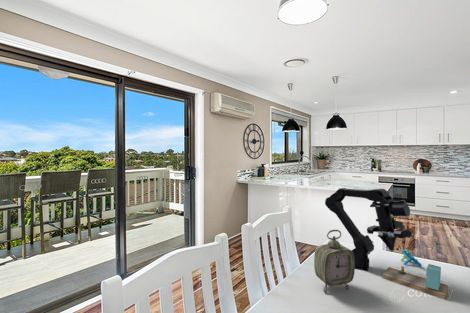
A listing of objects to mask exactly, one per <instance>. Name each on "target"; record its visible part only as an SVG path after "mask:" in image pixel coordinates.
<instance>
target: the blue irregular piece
mask: <svg viewBox="0 0 470 313" xmlns="http://www.w3.org/2000/svg"><path fill="white" fill-rule="evenodd" d="M401 251H402V253H403V254H402V255H403V256H402V258H401V259H400V261H401V262H403V261H404V260H405V259H406V261H404V263H403V265H404V266H406V265H407V264H409V263H410V262H413V263H414V264H416V265H417V266H418V267H422V266H423V265H422V263H421V262H419V260H418V259H417V258H415V257H414V256H413V254H410V252H408V251H407V250H405V249H401Z"/></svg>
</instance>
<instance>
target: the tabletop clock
mask: <svg viewBox="0 0 470 313" xmlns="http://www.w3.org/2000/svg"><path fill="white" fill-rule="evenodd" d="M333 232H338V233H339V236H337V237H336V236H335V235H333V236H332V237H329V234H330V233H333ZM341 237H342V232H341V230H339V229H332V230H329V231H328V232H327V234H326V238H327V239H328V242H327V243H326V244H321V245H317V246H316V247H315V249H314V257H313V262H314V265H313V266H314V273H315V276H316V277H317V278H318V279H319V280H321V281H322V282H323V283H324V285H325V286H324V287H325V288H323V293H325V294H327V293H328V289H327V288H328V286H329V287H332V286H333V287H335V286H337V287H338V286H342V285H345V289H346V290H350V285H349V283H351V282H352V281H353V279H354V277H355V269H356V268H355V256H354V253H353V251H351V250H352V249H349V248H348V247H346V246H344V245H342V244H341V243H340V242H339V241H338V239H340V238H341Z"/></svg>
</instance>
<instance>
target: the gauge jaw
mask: <svg viewBox="0 0 470 313" xmlns="http://www.w3.org/2000/svg"><path fill="white" fill-rule="evenodd" d="M441 272H442V267H441V266H438V265H434V264H431V263H428V264H427V267H426V274H425V276H426V277H425V278H426V287H429V288H432V289H435V290H439V288H440V283H441V274H442V273H441Z"/></svg>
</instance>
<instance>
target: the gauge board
mask: <svg viewBox="0 0 470 313" xmlns="http://www.w3.org/2000/svg"><path fill="white" fill-rule="evenodd" d="M382 279H383V280H386V281H390V282H392V283H395V284H398V285H401V286H404V287H406V288H409V289H413V290H415V291H418V292H422V293H424V294H426V295H430V296H432V297H436V298H439V299H441V298H442V299H443V300H444V299H445V300H446V299H447V295H448V292H449V284H445V283H442V282H440V288H439V290H435V289H432V288H429V287H426V277H422V276H420V275H417V274H414V273H410V272H407V271H405V267H404V266H403V265H401V267H400V269H397V268H394V267H391V266H388V267H387V269H386V270H385V271H384V272H383V273H382Z"/></svg>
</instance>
